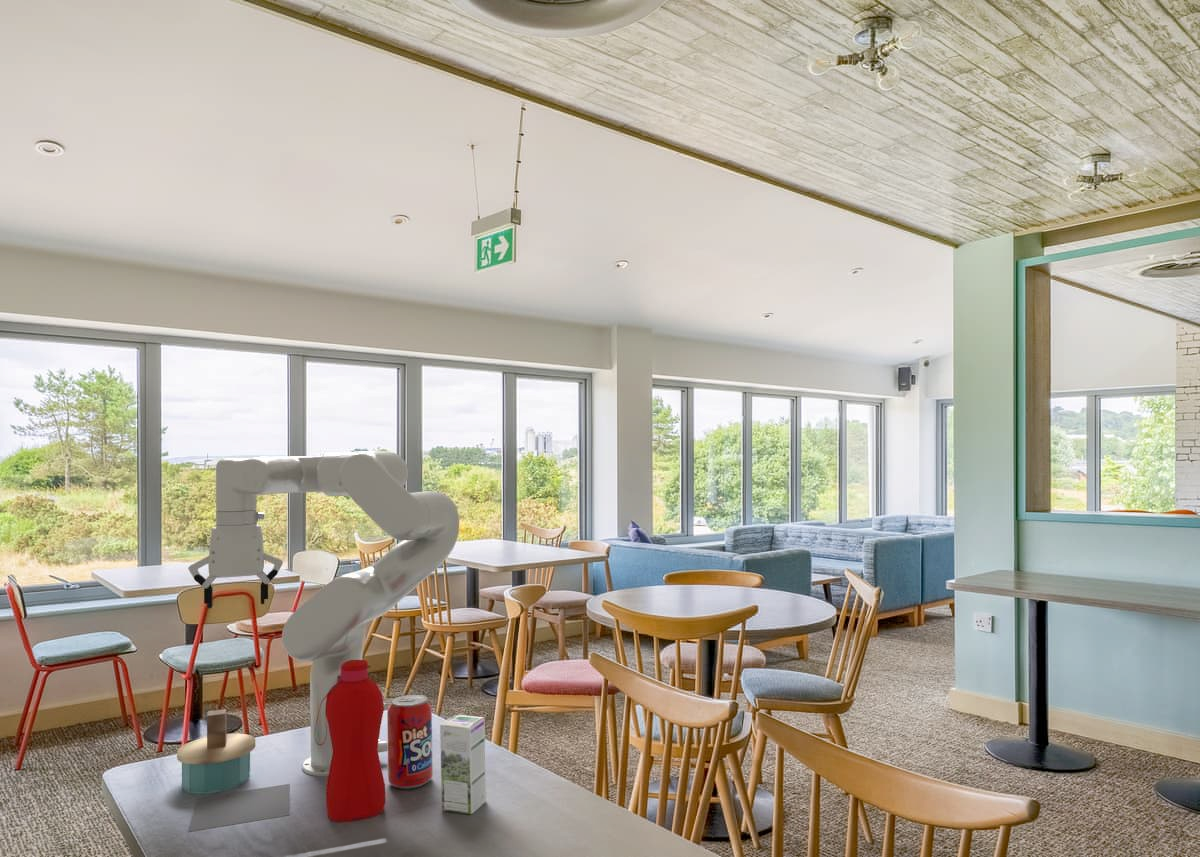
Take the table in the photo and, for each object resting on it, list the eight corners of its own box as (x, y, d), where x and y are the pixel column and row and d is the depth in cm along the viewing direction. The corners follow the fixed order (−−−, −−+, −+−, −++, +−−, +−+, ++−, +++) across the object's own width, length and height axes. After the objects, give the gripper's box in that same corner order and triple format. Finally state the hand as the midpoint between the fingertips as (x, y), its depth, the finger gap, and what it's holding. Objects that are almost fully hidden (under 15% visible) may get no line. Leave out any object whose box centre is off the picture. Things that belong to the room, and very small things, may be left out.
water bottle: (314, 808, 138) (312, 659, 139) (381, 797, 142) (379, 652, 143) (317, 831, 129) (315, 672, 130) (388, 818, 133) (385, 664, 134)
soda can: (395, 774, 152) (394, 693, 153) (437, 774, 152) (435, 692, 152) (382, 792, 144) (381, 706, 145) (426, 791, 144) (425, 705, 144)
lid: (256, 734, 158) (256, 698, 158) (253, 757, 146) (253, 717, 146) (181, 744, 153) (181, 707, 154) (172, 769, 141) (172, 728, 141)
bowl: (251, 768, 157) (251, 737, 157) (248, 790, 146) (248, 756, 146) (186, 778, 153) (186, 745, 153) (178, 801, 142) (178, 766, 142)
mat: (289, 787, 147) (289, 783, 147) (289, 818, 134) (289, 814, 134) (197, 801, 142) (197, 797, 142) (187, 835, 129) (187, 831, 129)
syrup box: (487, 801, 139) (486, 715, 140) (471, 816, 134) (469, 726, 134) (457, 797, 141) (456, 712, 142) (440, 811, 136) (438, 723, 136)
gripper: (282, 516, 171) (282, 598, 171) (190, 520, 165) (190, 605, 164) (282, 519, 164) (283, 604, 164) (186, 523, 158) (186, 612, 157)
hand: (236, 605), depth 164 cm, fingers open, 9 cm apart
